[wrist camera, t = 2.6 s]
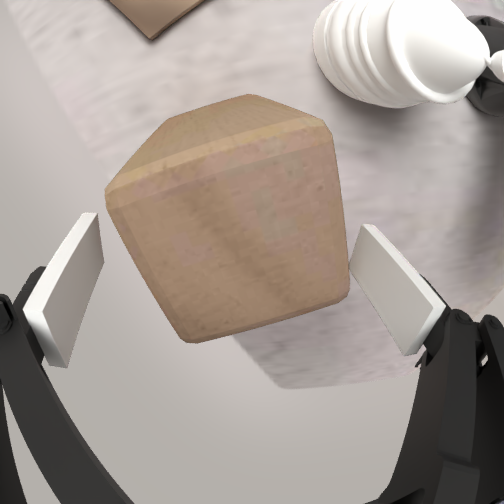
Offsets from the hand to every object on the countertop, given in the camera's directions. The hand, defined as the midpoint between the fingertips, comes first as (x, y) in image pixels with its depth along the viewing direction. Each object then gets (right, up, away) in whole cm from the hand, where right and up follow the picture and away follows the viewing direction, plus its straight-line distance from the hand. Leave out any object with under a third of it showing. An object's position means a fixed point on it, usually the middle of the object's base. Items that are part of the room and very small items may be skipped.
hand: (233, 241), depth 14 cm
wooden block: (-2, +10, +16) cm, 19 cm away
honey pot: (+13, +21, +11) cm, 27 cm away
